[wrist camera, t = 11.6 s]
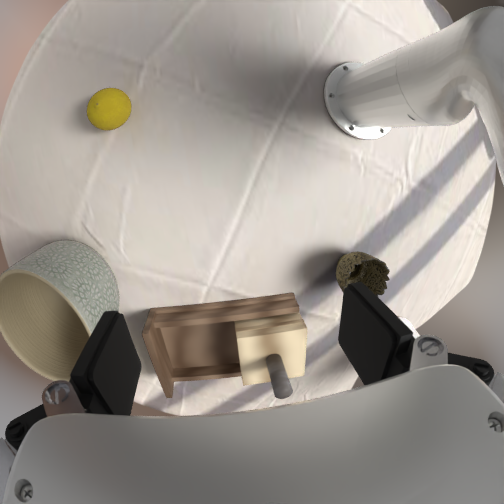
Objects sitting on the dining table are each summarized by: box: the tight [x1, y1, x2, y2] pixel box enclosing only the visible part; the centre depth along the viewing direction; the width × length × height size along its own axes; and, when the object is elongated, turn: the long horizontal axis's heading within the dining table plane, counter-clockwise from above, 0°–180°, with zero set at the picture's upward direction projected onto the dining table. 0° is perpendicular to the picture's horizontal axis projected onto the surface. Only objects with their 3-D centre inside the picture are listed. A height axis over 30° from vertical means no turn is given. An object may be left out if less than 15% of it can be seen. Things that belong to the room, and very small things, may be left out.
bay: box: [142, 293, 299, 398], centre depth 41 cm, size 23×14×7 cm, turn 94°
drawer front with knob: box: [234, 312, 307, 399], centre depth 38 cm, size 10×10×13 cm
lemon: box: [87, 88, 131, 130], centre depth 27 cm, size 6×6×8 cm
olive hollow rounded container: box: [336, 252, 389, 296], centre depth 39 cm, size 8×7×8 cm
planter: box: [0, 240, 119, 382], centre depth 31 cm, size 17×17×15 cm
